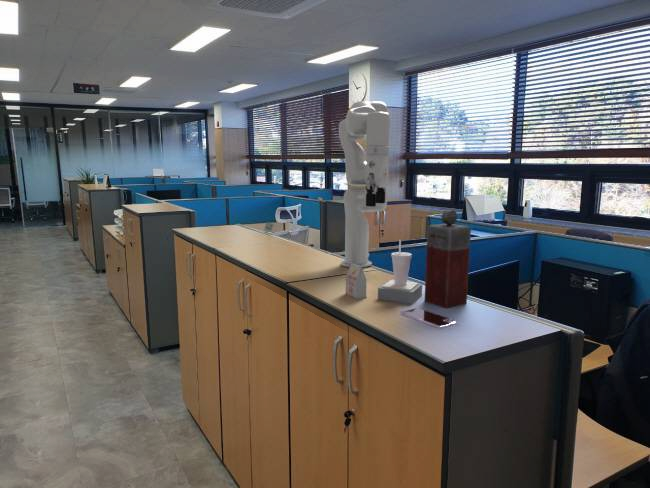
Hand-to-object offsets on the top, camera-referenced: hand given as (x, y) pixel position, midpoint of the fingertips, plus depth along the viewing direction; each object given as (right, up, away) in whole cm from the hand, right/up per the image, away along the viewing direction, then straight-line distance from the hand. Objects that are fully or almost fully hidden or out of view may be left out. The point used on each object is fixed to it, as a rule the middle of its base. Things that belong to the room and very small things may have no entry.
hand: (375, 204), depth 156 cm
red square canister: (+19, -31, -12) cm, 38 cm away
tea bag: (-7, -30, -6) cm, 31 cm away
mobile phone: (+11, -34, -28) cm, 45 cm away
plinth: (+7, -30, -7) cm, 31 cm away
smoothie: (+7, -26, -7) cm, 28 cm away
